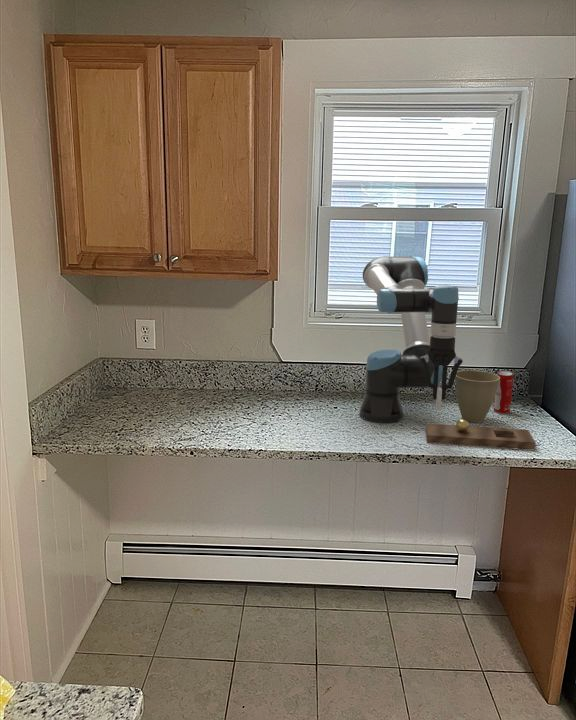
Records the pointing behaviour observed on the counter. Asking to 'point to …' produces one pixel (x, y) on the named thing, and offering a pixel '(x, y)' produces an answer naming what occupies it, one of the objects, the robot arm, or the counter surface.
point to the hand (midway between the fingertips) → (438, 408)
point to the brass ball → (462, 425)
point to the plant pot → (475, 393)
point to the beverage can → (503, 393)
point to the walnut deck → (480, 436)
